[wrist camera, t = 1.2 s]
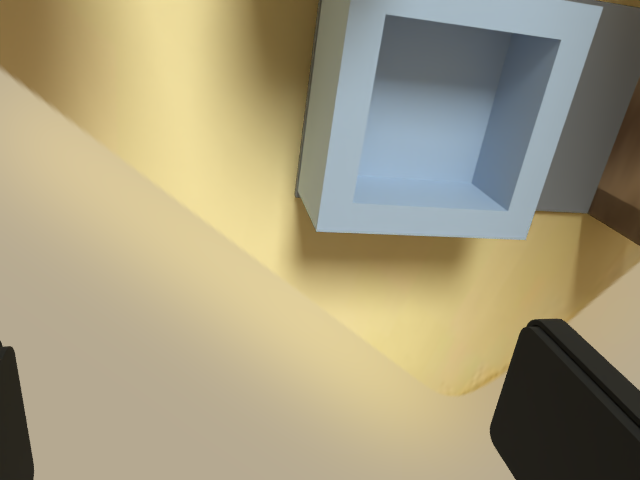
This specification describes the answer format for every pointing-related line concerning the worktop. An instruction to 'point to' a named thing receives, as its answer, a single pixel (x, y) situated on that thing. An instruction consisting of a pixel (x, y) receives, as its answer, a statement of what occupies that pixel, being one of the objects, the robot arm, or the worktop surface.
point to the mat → (581, 110)
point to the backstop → (622, 178)
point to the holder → (438, 113)
